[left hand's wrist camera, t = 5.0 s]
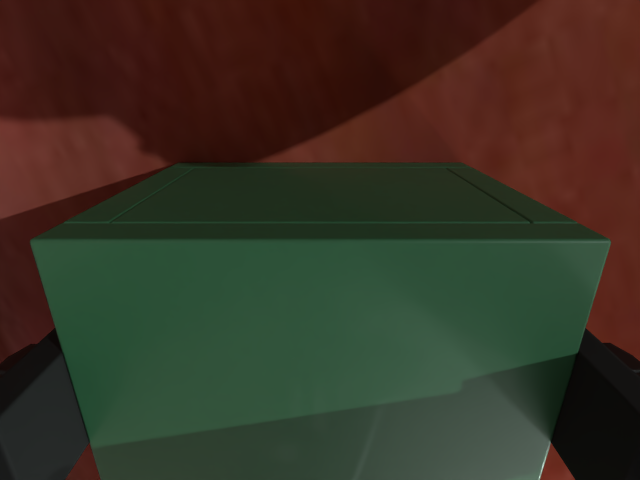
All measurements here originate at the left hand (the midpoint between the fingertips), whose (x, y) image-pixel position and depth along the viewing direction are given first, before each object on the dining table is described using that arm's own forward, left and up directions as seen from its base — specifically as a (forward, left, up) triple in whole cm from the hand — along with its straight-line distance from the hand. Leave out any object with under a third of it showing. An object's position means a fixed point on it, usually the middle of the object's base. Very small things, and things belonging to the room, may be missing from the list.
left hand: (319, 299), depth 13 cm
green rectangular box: (+6, -1, -4) cm, 7 cm away
